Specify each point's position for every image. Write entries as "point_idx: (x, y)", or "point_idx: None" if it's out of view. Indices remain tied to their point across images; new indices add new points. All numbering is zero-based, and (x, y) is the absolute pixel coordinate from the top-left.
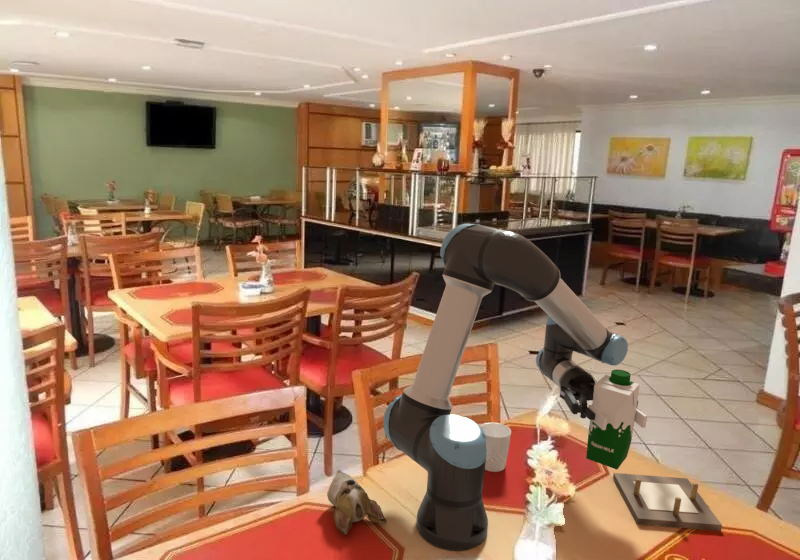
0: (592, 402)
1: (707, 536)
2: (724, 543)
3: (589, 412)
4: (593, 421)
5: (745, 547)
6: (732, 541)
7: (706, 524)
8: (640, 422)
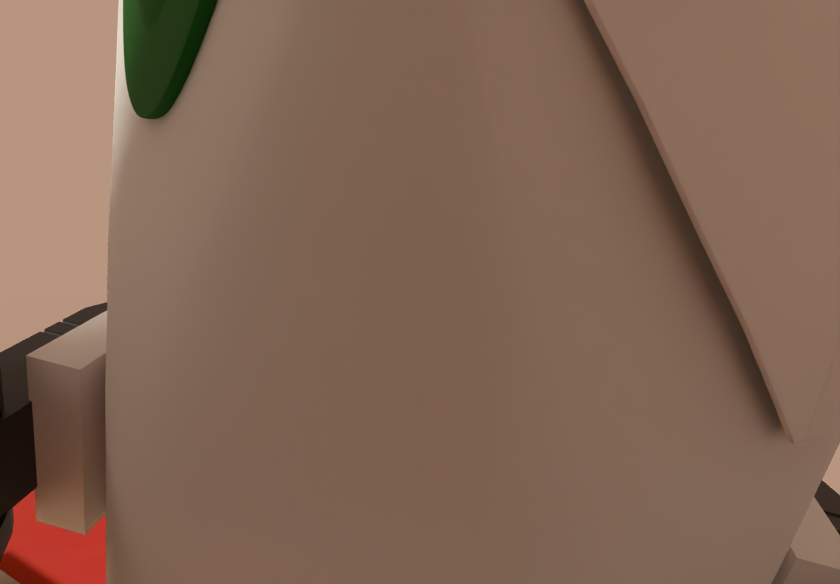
0: (791, 542)
1: (66, 577)
2: (64, 533)
3: (838, 504)
4: None
5: (31, 497)
6: (24, 527)
7: (15, 582)
8: None
